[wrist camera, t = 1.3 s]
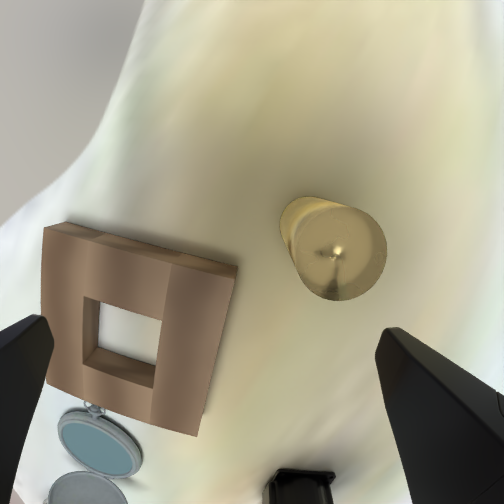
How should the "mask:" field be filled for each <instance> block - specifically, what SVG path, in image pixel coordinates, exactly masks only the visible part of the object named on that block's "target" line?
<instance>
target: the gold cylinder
mask: <svg viewBox="0 0 504 504" xmlns="http://www.w3.org/2000/svg"><path fill="white" fill-rule="evenodd" d="M280 232H281V235H282V238H283V240H284V242H285V245H286V247H287V249H288V251H289V253H290V256H291V258H292V260H293V262H294V264H295V267H296V269H297V271H298V273H299V275H300V278H301V280H302V281H303V283H304V284H305V285H306V286H307V288H308V289H309V290H311V291H312V292H313V293H314V294H316V295H318V296H320V297H322V298H324V299H328V300H333V301H344V300H349V299H353V298H356V297H358V296H360V295H362V294H363V293H365V292H366V291H368V290H369V289H370V288H371V287H372V286H373V285H374V284H375V283H376V282H377V280H378V279H379V277H380V275H381V274H382V271H383V269H384V266H385V263H386V257H387V245H386V240H385V236H384V234H383V231H382V229H381V228H380V226H379V225H378V223H377V222H376V221H375V220H374V219H373V218H372V217H371V216H370V215H368V214H367V213H365V212H363V211H361V210H358V209H356V208H352V207H349V206H345V205H342V204H338V203H335V202H331V201H328V200H324V199H320V198H317V197H310V196H308V197H301V198H298V199H296V200H294V201H293V202H291V203H290V204H289V205H288V206H287V207H286V208H285V210H284V212H283V214H282V216H281V220H280Z"/></svg>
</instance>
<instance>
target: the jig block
mask: <svg viewBox="0 0 504 504" xmlns="http://www.w3.org/2000/svg"><path fill="white" fill-rule="evenodd" d="M237 269H238V267H237V266H233V265H229V264H225V263H221V262H217V261H213V260H209V259H205V258H201V257H197V256H193V255H189V254H185V253H181V252H177V251H173V250H169V249H166V248H162V247H158V246H154V245H150V244H146V243H143V242H139V241H135V240H131V239H127V238H124V237H120V236H116V235H112V234H109V233H105V232H101V231H97V230H94V229H90V228H86V227H83V226H79V225H75V224H72V223H68V222H63V223H59V224H55V225H52V226H48V227H44V232H43V244H42V262H41V315H42V316H44V317H46V319H47V321H48V324H49V327H50V329H51V332H52V335H53V338H54V350H53V353H52V356H51V360H50V363H49V366H48V370H47V374H46V382H47V384H49V385H51V386H53V387H55V388H57V389H59V390H62V391H64V392H66V393H68V394H70V395H73V396H75V397H77V398H80V399H82V400H84V401H87V402H89V403H92V404H94V405H97V406H99V407H102V408H105V409H107V410H110V411H113V412H115V413H118V414H121V415H124V416H127V417H130V418H133V419H136V420H139V421H142V422H145V423H148V424H151V425H155V426H158V427H161V428H165V429H168V430H172V431H176V432H179V433H183V434H187V435H191V436H195V437H197V435H198V431H199V426H200V422H201V418H202V414H203V409H204V405H205V401H206V397H207V393H208V389H209V384H210V380H211V376H212V372H213V368H214V364H215V360H216V356H217V351H218V347H219V343H220V339H221V335H222V331H223V327H224V323H225V319H226V315H227V311H228V307H229V303H230V298H231V294H232V290H233V286H234V282H235V278H236V273H237ZM100 302H103V303H106V304H109V305H112V306H115V307H119V308H122V309H125V310H128V311H131V312H134V313H138V314H141V315H144V316H148V317H151V318H155V319H158V320H161V321H162V325H161V332H160V339H159V346H158V353H157V361H156V366H153V365H150V364H147V363H143V362H140V361H137V360H134V359H131V358H128V357H125V356H122V355H119V354H116V353H113V352H110V351H108V350H105V349H102V348H99V347H98V327H99V309H100Z"/></svg>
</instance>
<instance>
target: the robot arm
mask: <svg viewBox="0 0 504 504" xmlns="http://www.w3.org/2000/svg"><path fill="white" fill-rule="evenodd" d="M53 350H54V338H53V335H52V332H51V329H50V327H49V324H48V321H47V319H46V317H44V316H42V315H36V314H32V315H30V316H28V317H26V318H24V319H22V320H20V321H19V322H17V323H15V324H13V325H11V326H9V327H7V328H6V329H4V330H2V331H0V504H9V503H10V498H11V493H12V489H13V484H14V480H15V476H16V472H17V468H18V464H19V460H20V457H21V453H22V450H23V446H24V443H25V439H26V436H27V433H28V430H29V427H30V424H31V421H32V418H33V415H34V412H35V409H36V406H37V403H38V400H39V398H40V395H41V392H42V388H43V385H44V381H45V377H46V374H47V370H48V366H49V363H50V360H51V356H52V353H53ZM375 361H376V366H377V370H378V375H379V379H380V384H381V389H382V394H383V399H384V403H385V408H386V411H387V415H388V418H389V421H390V424H391V427H392V431H393V434H394V437H395V441H396V444H397V448H398V451H399V454H400V458H401V462H402V465H403V469H404V472H405V476H406V480H407V484H408V488H409V491H410V495H411V499H412V503H413V504H504V395H502V394H501V393H499V392H496V390H494V389H493V388H491V387H490V386H488V385H487V384H485V383H484V382H482V381H481V380H479V379H478V378H476V377H475V376H473V375H472V374H470V373H469V372H467V371H466V370H464V369H463V368H461V367H460V366H458V365H457V364H455V363H453V362H452V361H450V360H449V359H447V358H446V357H444V356H443V355H441V354H440V353H438V352H437V351H435V350H433V349H432V348H430V347H429V346H427V345H426V344H424V343H423V342H421V341H420V340H418V339H416V338H415V337H413V336H412V335H410V334H409V333H407V332H406V331H404V330H402V329H401V328H399V327H393V328H386V329H384V330H383V332H382V335H381V337H380V340H379V343H378V346H377V349H376V352H375ZM335 477H336V476H335V473H333V472H312V471H299V470H287V469H279V470H278V471H277V472H276V474H275V476H274V478H273V479H272V481H270V482H269V483H268V484H267V486H266V488H265V490H264V492H263V493H262V503H263V504H334V503H333V498H332V493H331V488H330V484H331V483H332V482H333V480H334V479H335Z"/></svg>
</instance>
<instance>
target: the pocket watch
mask: <svg viewBox="0 0 504 504" xmlns="http://www.w3.org/2000/svg"><path fill="white" fill-rule="evenodd" d="M86 402H87V401H84V406H85V407H86V408H87V409H88V412H89V413H87V412H80V411H75V412H70V413H67V414H65V415H63V416H62V417H61V419H60V420H59V423H58V435H59V439H60V441H61V443H62V445H63V446H64V448H65V449H66V451H67V452H68V453H69V454H70V455H71V456H72V457H73V458H74V459H75V460H76V461H77V462H79V463H80V464H81V465H83V466H84V467H86V469H87V470H89V471H91V472H86V471H76V472H71V473H67V474H65V475H63V476H61V477H60V478H58V479H57V480H56V481H55V482H54V484H53V485H52V487H51V489H50V491H49V495H48V504H128V503H127V500H126V498H125V496H124V494H123V493H122V491H121V490H120V489H119V488H118V487H117V486H116V485H115V484H114V483H113V482H111V481H110V480H108V479H114V478H126V477H129V476H131V475H134V474H135V473H137V472H138V471H139V469H140V467H141V464H142V460H141V454H140V451H139V449H138V447H137V446H136V444H135V443H134V442H133V440H132V439H131V438H130V437H129V436H128V435H127V434H126V433H125V432H124V431H122V430H121V429H120V428H118V427H117V426H116V425H114V424H112V423H111V422H109V421H107V420H106V419H103V418H101V417H99V416H101V414H102V415H103V414H105V413H106V411H105V409H104V408H102V407H101V408H102V409H103V410H104V413H101V410H100V409H98V406H97V405H91V406H90V407H87V406H86V405H85V403H86ZM105 477H106V478H105ZM107 478H108V479H107Z"/></svg>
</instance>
